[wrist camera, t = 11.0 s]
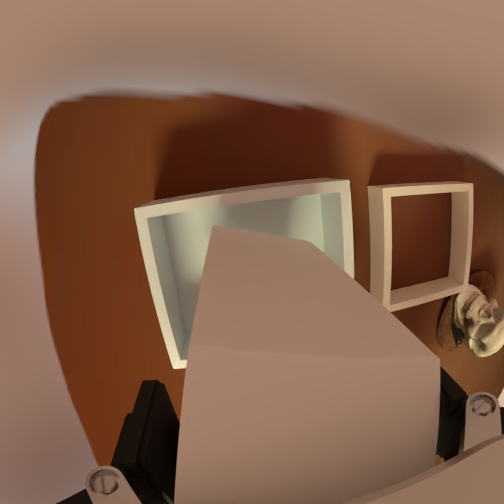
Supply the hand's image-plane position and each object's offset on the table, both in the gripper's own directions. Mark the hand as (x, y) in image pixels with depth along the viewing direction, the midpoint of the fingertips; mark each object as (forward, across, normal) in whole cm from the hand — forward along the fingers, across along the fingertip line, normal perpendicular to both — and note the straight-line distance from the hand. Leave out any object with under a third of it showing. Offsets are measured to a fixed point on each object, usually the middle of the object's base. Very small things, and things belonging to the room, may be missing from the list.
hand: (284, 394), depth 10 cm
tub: (+18, 0, 0) cm, 18 cm away
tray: (+18, -18, +1) cm, 25 cm away
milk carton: (+12, 0, 0) cm, 12 cm away
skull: (+18, -28, +12) cm, 36 cm away
